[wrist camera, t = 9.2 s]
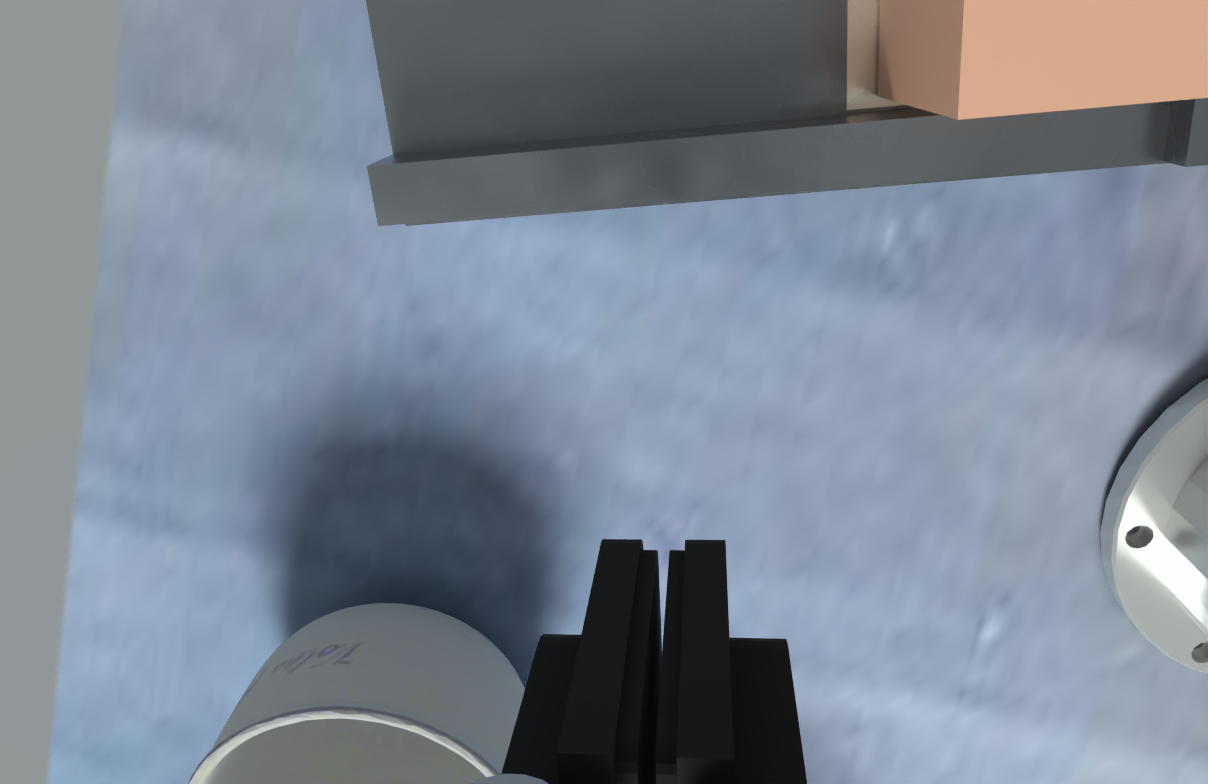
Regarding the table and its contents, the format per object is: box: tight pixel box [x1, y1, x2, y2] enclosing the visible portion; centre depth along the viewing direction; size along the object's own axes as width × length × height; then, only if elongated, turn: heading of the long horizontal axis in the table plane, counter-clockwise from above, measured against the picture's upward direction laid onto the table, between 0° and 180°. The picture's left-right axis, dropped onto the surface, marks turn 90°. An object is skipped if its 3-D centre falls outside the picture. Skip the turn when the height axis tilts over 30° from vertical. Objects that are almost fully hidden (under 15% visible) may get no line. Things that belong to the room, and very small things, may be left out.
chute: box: [366, 0, 1208, 226], centre depth 23 cm, size 22×10×4 cm, turn 95°
